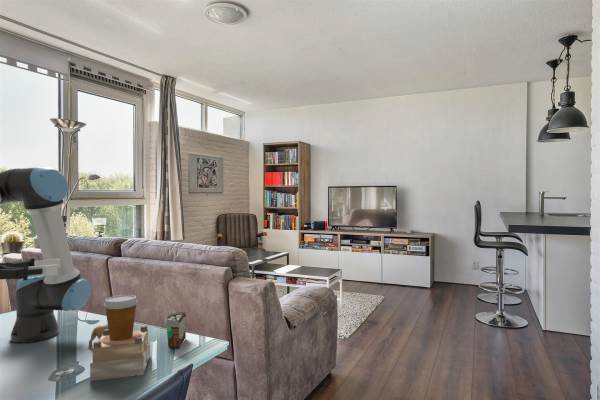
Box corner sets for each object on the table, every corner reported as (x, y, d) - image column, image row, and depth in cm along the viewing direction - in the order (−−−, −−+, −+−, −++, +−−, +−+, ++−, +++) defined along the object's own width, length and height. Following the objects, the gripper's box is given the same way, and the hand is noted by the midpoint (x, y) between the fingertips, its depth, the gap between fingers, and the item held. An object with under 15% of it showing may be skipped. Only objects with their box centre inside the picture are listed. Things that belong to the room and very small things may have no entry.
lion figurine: (113, 335, 143) (113, 311, 143) (125, 336, 142) (125, 312, 142) (83, 349, 129) (83, 323, 129) (96, 350, 127) (96, 324, 128)
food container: (169, 338, 139) (169, 311, 139) (186, 337, 139) (186, 310, 139) (160, 351, 126) (159, 321, 127) (178, 350, 127) (178, 321, 127)
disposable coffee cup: (124, 344, 108) (124, 302, 108) (96, 342, 110) (96, 301, 110) (144, 332, 118) (144, 295, 118) (118, 331, 120) (117, 293, 120)
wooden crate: (102, 361, 119) (102, 329, 119) (149, 356, 122) (149, 325, 123) (90, 381, 105) (90, 344, 105) (143, 374, 109) (143, 339, 109)
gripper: (-25, 279, 109) (61, 272, 120) (-52, 297, 88) (55, 286, 98) (-25, 254, 110) (61, 249, 120) (-52, 265, 88) (55, 258, 99)
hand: (59, 266), depth 109 cm, fingers open, 13 cm apart
